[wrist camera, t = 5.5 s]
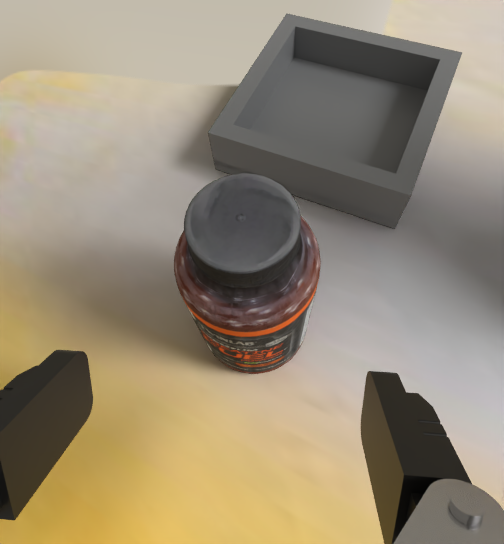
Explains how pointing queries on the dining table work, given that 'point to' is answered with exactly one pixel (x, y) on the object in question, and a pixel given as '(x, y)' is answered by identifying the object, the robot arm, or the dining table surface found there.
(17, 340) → the dining table surface
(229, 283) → the supplement bottle
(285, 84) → the tray
